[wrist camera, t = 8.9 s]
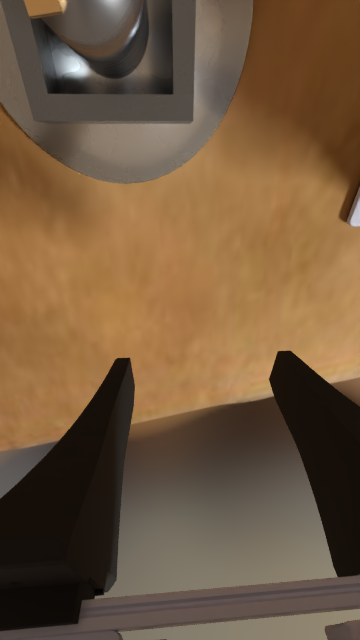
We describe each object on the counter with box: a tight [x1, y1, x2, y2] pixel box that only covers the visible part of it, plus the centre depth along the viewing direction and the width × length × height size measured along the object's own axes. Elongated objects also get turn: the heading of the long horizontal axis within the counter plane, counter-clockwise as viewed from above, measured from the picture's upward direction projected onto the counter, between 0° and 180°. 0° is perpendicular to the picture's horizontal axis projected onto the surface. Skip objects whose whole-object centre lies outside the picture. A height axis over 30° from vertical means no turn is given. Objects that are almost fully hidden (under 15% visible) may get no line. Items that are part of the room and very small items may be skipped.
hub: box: [0, 0, 254, 183], centre depth 11 cm, size 14×14×3 cm
